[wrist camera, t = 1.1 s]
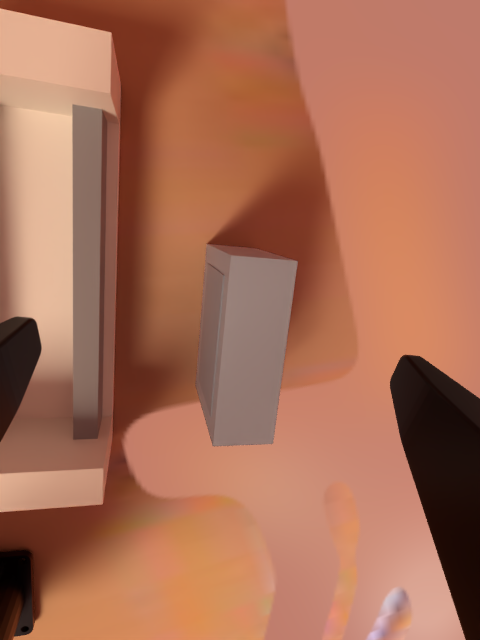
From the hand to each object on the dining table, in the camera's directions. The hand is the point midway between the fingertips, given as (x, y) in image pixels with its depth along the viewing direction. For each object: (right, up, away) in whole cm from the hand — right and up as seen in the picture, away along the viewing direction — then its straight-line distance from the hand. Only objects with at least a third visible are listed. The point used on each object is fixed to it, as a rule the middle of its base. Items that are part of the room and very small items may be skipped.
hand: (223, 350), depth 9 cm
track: (-11, +3, +11) cm, 16 cm away
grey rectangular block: (-1, +1, +15) cm, 15 cm away
